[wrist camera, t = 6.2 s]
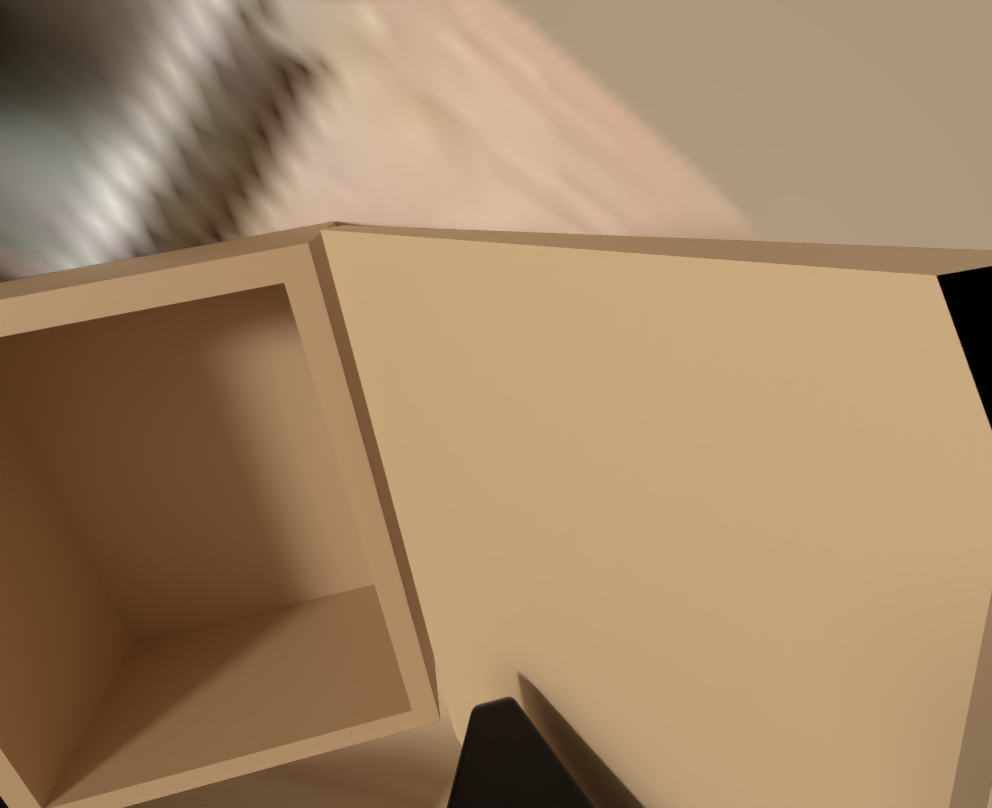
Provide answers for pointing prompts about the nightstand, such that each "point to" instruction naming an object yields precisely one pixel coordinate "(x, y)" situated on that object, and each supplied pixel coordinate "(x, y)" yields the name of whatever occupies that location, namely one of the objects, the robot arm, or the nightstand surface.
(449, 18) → the nightstand surface
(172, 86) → the nightstand surface
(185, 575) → the carton
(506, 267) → the flap
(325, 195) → the nightstand surface
